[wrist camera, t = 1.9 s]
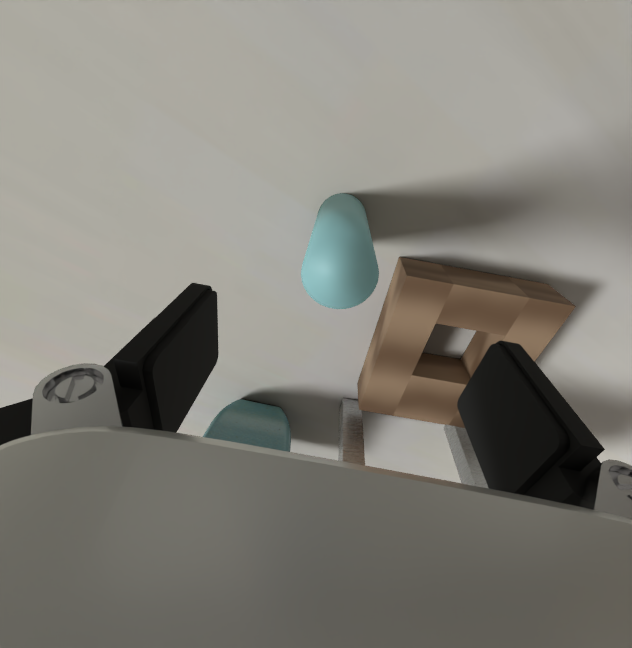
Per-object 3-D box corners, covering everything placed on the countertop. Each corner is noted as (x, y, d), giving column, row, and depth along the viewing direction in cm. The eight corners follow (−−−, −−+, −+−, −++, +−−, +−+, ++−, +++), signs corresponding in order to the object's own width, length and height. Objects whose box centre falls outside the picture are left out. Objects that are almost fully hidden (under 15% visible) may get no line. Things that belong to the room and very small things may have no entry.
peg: (321, 189, 21) (306, 230, 13) (371, 198, 21) (388, 245, 13) (314, 238, 23) (296, 301, 15) (359, 247, 23) (367, 314, 15)
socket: (399, 256, 24) (406, 275, 21) (547, 284, 24) (575, 306, 21) (357, 383, 31) (358, 409, 29) (469, 402, 32) (482, 430, 29)
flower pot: (289, 445, 38) (275, 522, 31) (220, 431, 38) (190, 506, 31) (302, 399, 34) (289, 478, 26) (223, 382, 33) (187, 458, 26)
